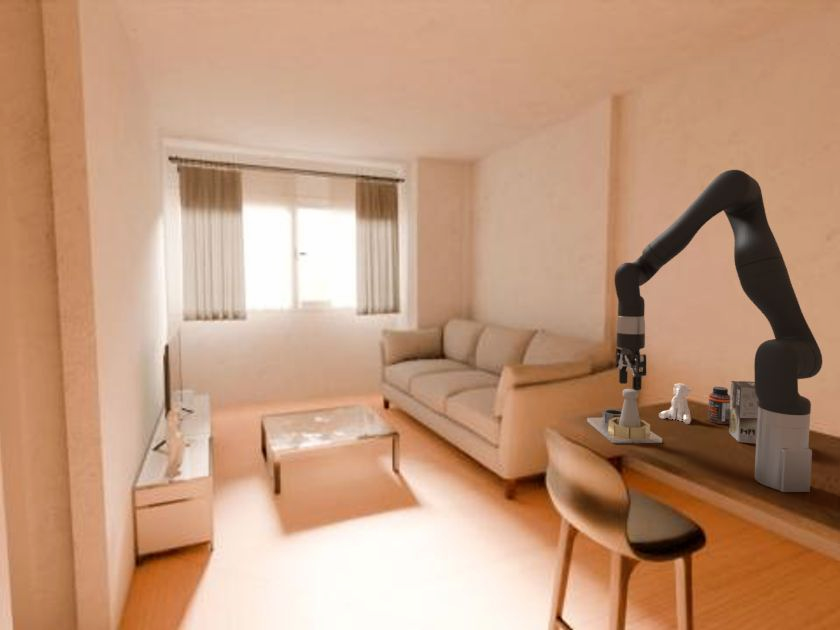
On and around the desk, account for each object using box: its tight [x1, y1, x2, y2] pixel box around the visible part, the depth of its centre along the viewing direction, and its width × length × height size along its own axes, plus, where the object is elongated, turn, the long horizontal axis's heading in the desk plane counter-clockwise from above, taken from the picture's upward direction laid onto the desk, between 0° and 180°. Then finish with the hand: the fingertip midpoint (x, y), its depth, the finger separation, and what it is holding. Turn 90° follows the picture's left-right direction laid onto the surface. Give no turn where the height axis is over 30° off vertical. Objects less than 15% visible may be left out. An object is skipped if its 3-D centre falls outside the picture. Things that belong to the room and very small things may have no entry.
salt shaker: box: [619, 388, 641, 427], centre depth 135 cm, size 6×6×13 cm
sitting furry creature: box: [658, 382, 693, 425], centre depth 151 cm, size 10×9×12 cm
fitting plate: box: [586, 408, 663, 444], centre depth 140 cm, size 20×14×4 cm
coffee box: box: [728, 380, 758, 445], centre depth 132 cm, size 9×6×16 cm
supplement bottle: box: [707, 386, 730, 425], centre depth 147 cm, size 6×6×11 cm
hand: (629, 386), depth 134 cm, fingers open, 8 cm apart
